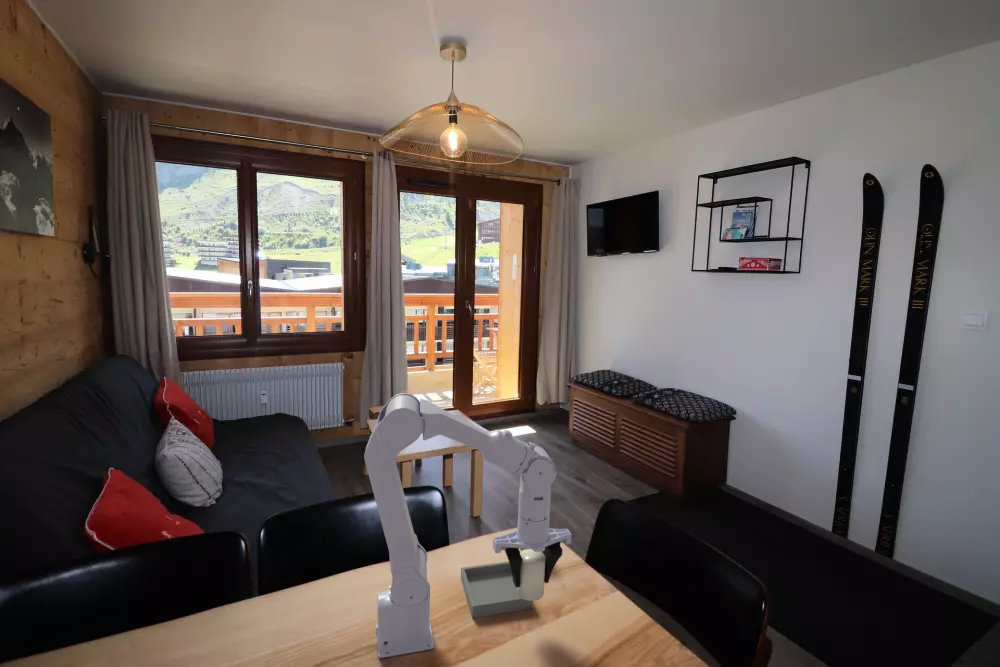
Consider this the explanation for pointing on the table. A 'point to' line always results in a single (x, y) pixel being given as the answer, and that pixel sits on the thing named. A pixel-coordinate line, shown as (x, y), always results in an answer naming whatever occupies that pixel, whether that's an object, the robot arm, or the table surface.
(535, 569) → the capsule
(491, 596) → the tray
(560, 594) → the table surface
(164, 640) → the table surface
